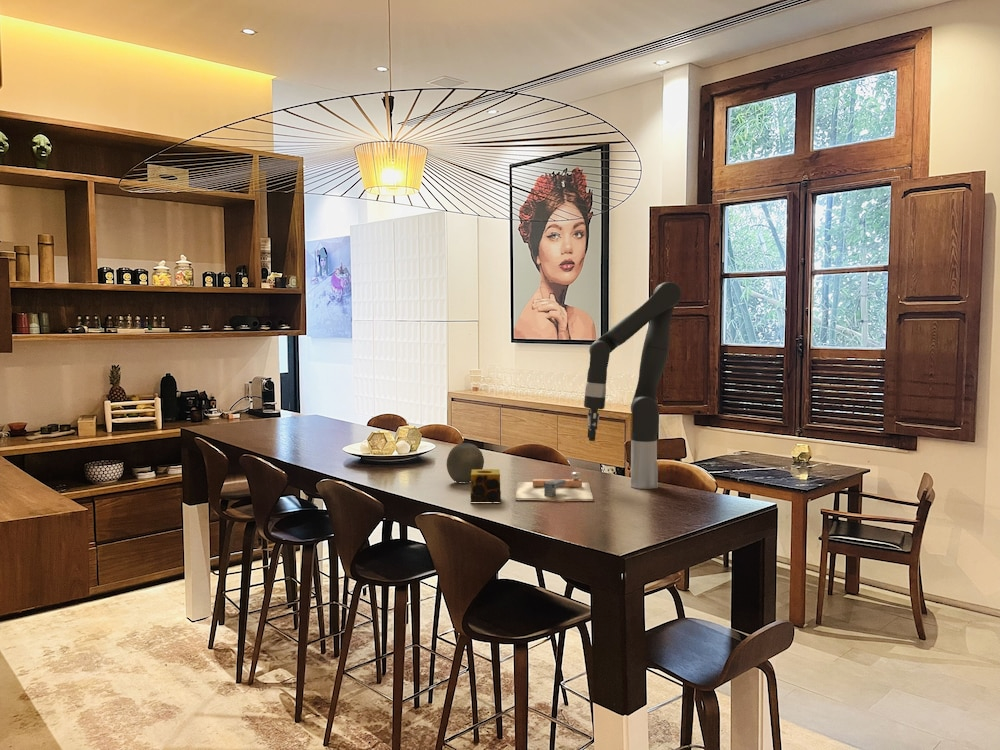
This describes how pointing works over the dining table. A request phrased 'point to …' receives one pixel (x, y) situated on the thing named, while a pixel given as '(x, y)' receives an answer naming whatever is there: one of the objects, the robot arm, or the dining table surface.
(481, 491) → the candle
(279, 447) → the dining table surface
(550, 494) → the block
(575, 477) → the silver metal ball
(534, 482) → the link
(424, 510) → the dining table surface
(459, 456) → the dark grey ball
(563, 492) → the board
